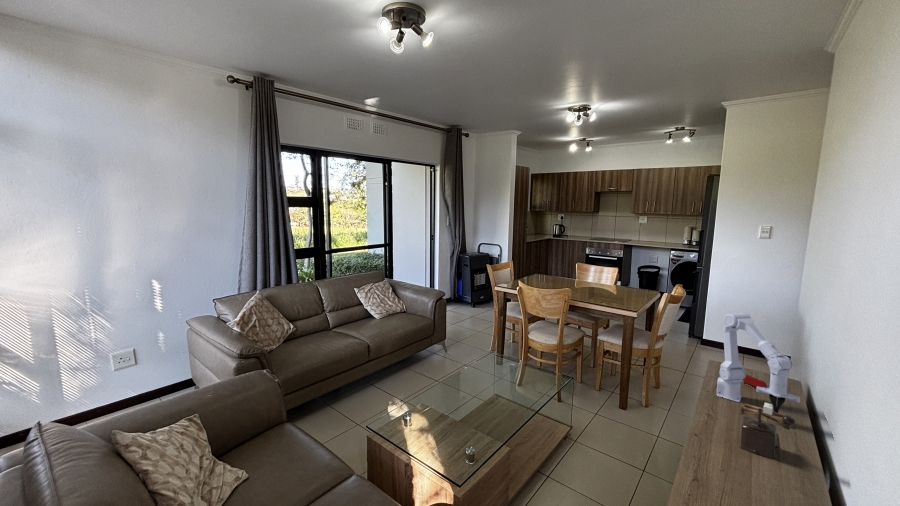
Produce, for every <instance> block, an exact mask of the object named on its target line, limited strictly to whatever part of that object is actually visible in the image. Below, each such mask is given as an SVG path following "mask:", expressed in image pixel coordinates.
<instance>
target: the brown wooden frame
mask: <svg viewBox="0 0 900 506" xmlns="http://www.w3.org/2000/svg"><path fill="white" fill-rule="evenodd" d="M758 408H761V409H762V413H763V407H760V406H756V405H752V404H748V403H745V402H742V404H741V406H740V415H741V414H742V415H744V416H746V417H747V416H748V417H750V418H753V419H758V413H757V412H758ZM763 414H765V415H767V416H770V417H772V418H774V419H777V420H779V421H781V422H782V423H783V420H782V417H783V416H784V415H787V416H790V415H789V414H784V413H781V412H778V413H776V412H774V410H773V413H772V415H769V414H766V413H763ZM761 421H763V422H766V423H770V424H773V425H777V426H781V427H782V425H781V424H779V423H778V422H776V421H774V420H771V419H769V418H766V417H764V416H763V415H761Z"/></svg>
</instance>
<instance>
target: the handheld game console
mask: <svg viewBox="0 0 900 506" xmlns="http://www.w3.org/2000/svg"><path fill="white" fill-rule="evenodd" d="M742 382H743V384H744V385H745V384H748V385H750V386H752V387H754V388H753V389H756V388H757V387H762V388H769V387H770V386H768V385H767V383H766V382H765V381H764V380H761V379H758V378H756V377H753V376H750V375H748V374H746V376H745V378H744V379H742ZM750 386H749V387H750ZM752 387H751V388H752Z"/></svg>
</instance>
